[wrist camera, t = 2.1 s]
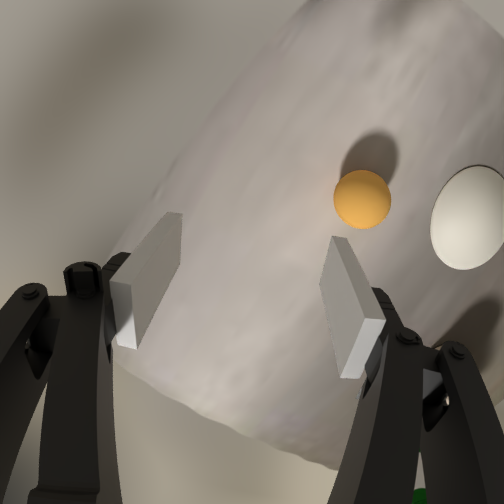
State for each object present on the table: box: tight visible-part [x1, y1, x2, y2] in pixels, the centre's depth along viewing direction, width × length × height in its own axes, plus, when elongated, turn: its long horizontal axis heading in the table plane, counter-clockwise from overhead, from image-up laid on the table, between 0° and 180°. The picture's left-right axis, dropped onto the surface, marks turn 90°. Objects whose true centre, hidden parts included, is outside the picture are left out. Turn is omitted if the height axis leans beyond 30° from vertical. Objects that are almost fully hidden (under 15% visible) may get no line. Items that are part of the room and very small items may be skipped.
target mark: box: [430, 166, 504, 270], centre depth 31 cm, size 13×13×1 cm
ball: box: [334, 170, 391, 229], centre depth 29 cm, size 6×6×6 cm
